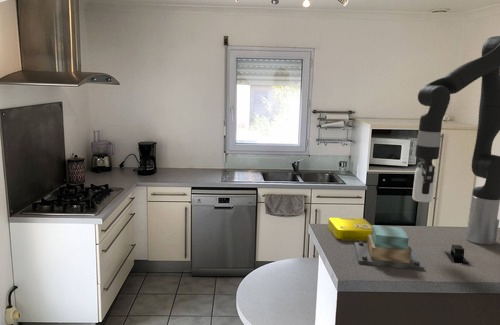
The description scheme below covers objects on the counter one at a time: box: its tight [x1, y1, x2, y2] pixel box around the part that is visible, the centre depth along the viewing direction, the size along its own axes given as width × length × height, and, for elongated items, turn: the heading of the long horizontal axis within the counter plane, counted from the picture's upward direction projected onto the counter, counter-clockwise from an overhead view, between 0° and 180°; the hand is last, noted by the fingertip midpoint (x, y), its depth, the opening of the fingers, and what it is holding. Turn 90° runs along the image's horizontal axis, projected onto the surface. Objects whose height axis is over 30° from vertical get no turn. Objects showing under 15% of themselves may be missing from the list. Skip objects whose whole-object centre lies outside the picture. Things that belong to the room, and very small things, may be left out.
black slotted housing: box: [444, 244, 470, 266], centre depth 139 cm, size 12×7×5 cm, turn 169°
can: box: [411, 165, 436, 204], centre depth 144 cm, size 6×6×12 cm
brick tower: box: [353, 224, 425, 271], centre depth 137 cm, size 20×16×9 cm
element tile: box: [327, 217, 373, 242], centre depth 159 cm, size 15×15×5 cm
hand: (422, 191), depth 145 cm, fingers closed on can, 6 cm apart
